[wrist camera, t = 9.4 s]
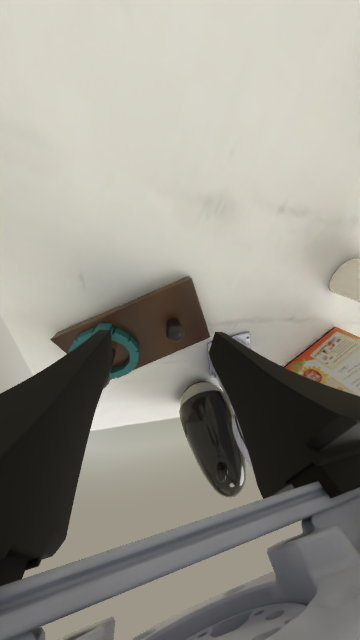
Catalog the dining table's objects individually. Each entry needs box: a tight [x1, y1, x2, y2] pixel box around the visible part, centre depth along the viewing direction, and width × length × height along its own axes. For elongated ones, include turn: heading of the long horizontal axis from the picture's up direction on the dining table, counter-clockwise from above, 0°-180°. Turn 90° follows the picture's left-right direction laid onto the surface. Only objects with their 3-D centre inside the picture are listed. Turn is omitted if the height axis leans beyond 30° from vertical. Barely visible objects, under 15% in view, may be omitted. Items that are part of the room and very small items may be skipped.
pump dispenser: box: [179, 382, 246, 498], centre depth 25 cm, size 10×10×15 cm
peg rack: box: [51, 276, 210, 388], centre depth 18 cm, size 19×10×7 cm, turn 111°
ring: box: [68, 323, 139, 379], centre depth 17 cm, size 9×8×6 cm
